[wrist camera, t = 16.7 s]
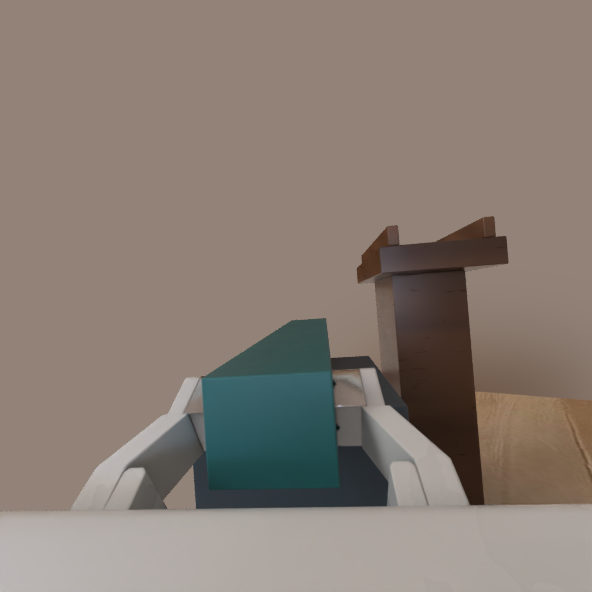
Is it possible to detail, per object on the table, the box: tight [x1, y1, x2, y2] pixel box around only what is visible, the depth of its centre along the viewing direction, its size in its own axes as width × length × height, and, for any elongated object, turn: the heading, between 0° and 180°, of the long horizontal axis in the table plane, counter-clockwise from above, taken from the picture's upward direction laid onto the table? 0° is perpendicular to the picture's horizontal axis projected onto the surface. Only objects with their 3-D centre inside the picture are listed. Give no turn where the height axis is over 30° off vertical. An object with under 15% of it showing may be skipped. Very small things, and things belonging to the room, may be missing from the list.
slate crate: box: [193, 356, 409, 509], centre depth 20 cm, size 12×10×18 cm
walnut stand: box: [357, 216, 508, 505], centre depth 30 cm, size 16×9×28 cm, turn 175°
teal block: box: [201, 318, 340, 491], centre depth 20 cm, size 23×4×3 cm, turn 175°
